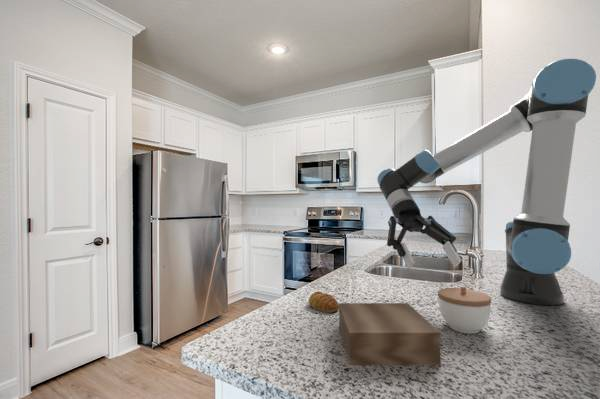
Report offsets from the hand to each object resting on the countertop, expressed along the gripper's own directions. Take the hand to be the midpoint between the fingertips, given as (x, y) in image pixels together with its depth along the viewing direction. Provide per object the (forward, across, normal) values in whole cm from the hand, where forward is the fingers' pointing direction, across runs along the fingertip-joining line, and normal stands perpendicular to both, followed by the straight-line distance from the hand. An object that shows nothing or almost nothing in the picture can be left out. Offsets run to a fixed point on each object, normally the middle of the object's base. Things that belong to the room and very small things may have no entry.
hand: (434, 265), depth 76 cm
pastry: (+1, +27, -17) cm, 32 cm away
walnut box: (+18, +21, 0) cm, 28 cm away
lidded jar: (+16, -1, -3) cm, 16 cm away
